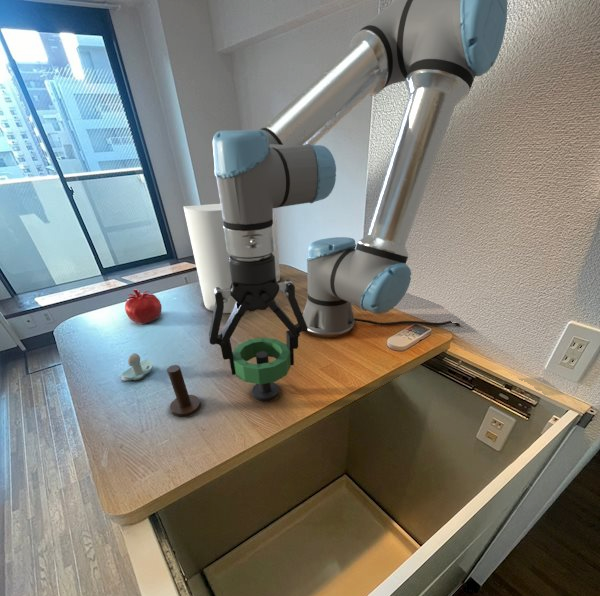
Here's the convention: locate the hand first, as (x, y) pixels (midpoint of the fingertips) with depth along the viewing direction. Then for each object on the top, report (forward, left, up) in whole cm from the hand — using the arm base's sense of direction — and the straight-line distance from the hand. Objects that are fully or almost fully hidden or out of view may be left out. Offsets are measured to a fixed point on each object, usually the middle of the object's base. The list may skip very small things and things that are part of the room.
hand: (262, 366), depth 67 cm
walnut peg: (+17, 0, -7) cm, 18 cm away
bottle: (-14, -65, -7) cm, 67 cm away
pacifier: (+28, -15, -7) cm, 33 cm away
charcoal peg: (0, 0, -7) cm, 7 cm away
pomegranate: (+28, -45, -7) cm, 54 cm away
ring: (0, 0, 0) cm, 0 cm away
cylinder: (+2, -50, -7) cm, 51 cm away
